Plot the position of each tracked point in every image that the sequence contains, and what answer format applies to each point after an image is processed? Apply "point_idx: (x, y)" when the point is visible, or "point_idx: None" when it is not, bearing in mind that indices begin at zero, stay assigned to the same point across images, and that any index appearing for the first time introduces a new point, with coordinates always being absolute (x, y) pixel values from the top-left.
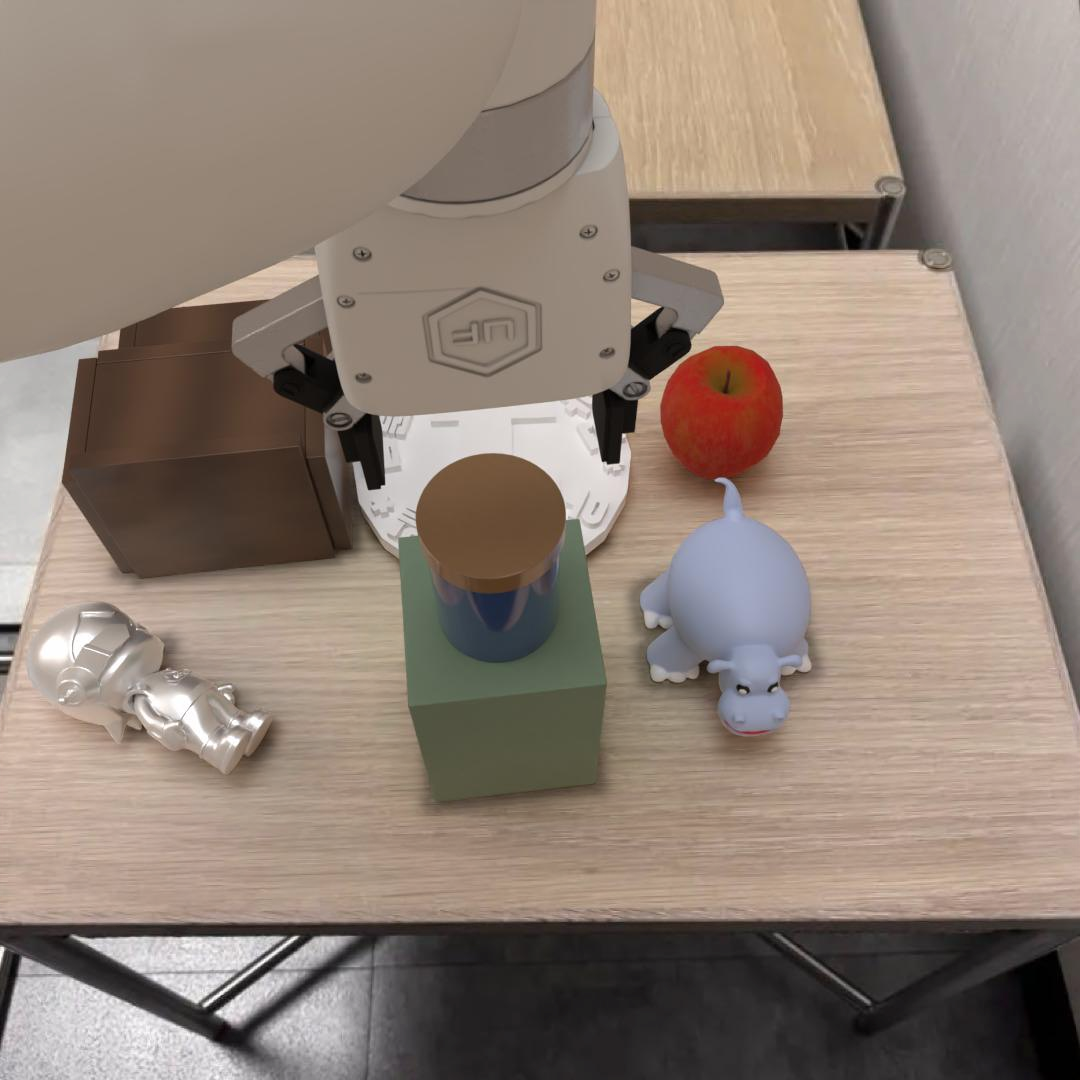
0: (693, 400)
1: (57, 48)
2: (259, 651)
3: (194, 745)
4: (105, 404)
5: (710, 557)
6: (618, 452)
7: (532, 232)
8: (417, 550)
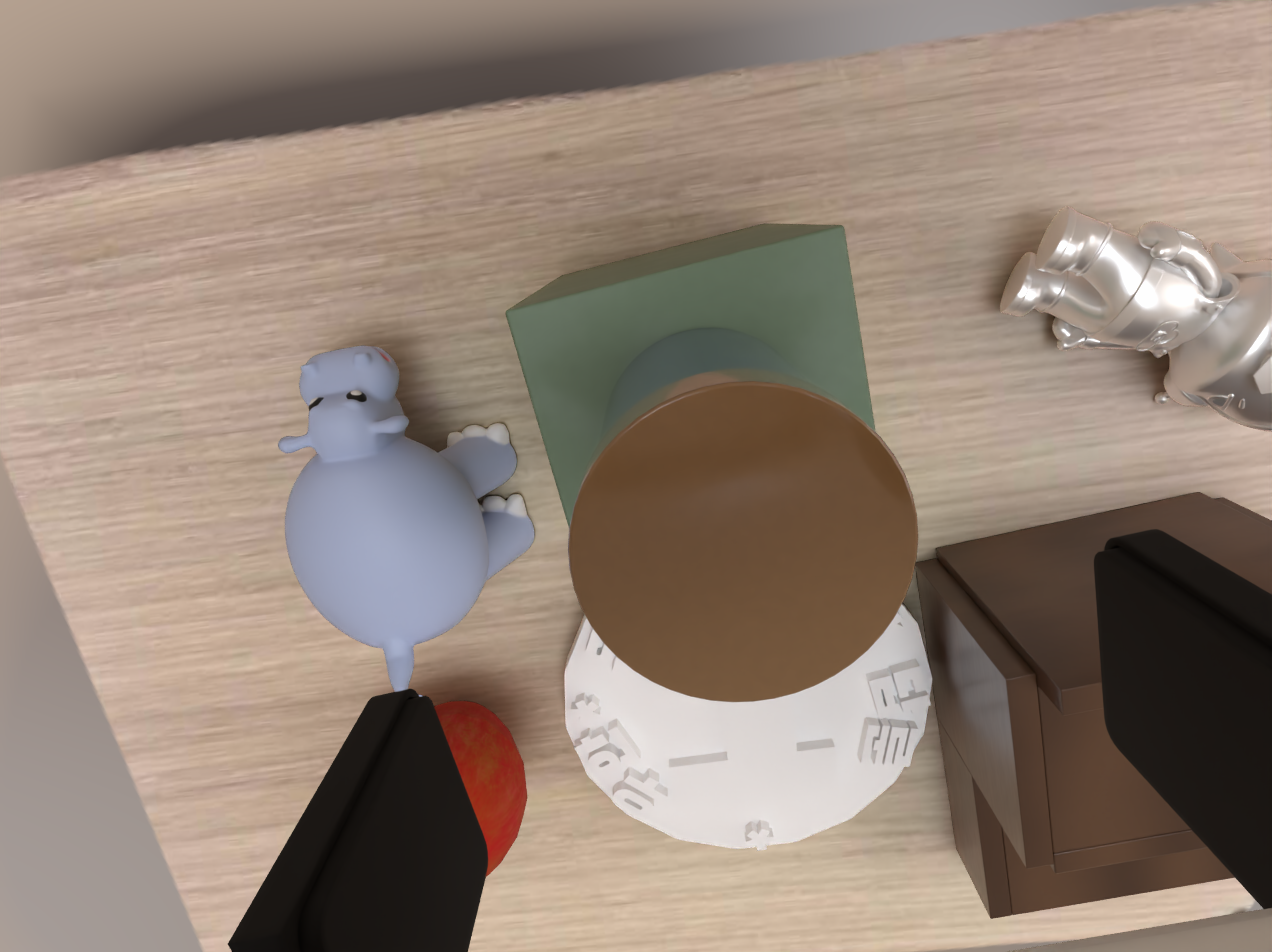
0: None
1: None
2: (1023, 407)
3: (1121, 235)
4: None
5: (418, 582)
6: (355, 731)
7: None
8: None
